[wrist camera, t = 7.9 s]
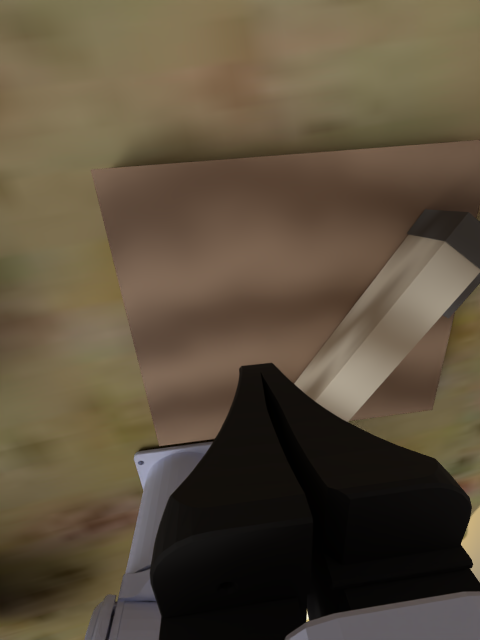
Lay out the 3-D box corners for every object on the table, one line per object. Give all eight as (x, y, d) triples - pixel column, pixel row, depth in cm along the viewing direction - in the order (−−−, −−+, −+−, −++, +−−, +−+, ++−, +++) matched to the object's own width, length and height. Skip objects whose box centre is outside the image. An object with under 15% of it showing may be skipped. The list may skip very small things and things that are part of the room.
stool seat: (412, 391, 26) (454, 431, 22) (163, 423, 25) (153, 473, 20) (459, 145, 19) (538, 130, 14) (106, 172, 17) (70, 165, 13)
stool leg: (304, 425, 23) (318, 458, 20) (271, 410, 22) (280, 443, 19) (459, 237, 18) (507, 245, 15) (424, 209, 17) (468, 212, 15)
